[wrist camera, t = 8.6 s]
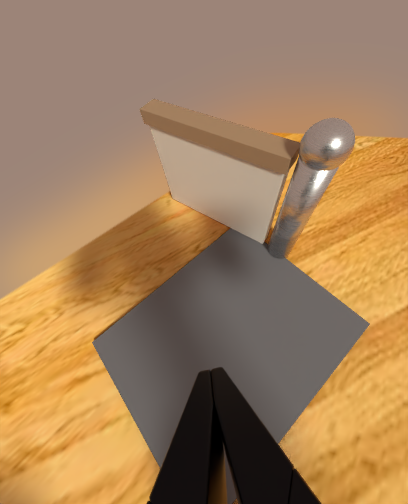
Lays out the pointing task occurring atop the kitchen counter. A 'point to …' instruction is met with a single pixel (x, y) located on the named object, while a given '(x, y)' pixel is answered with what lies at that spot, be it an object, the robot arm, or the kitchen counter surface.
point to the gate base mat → (228, 340)
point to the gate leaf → (221, 166)
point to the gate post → (310, 180)
